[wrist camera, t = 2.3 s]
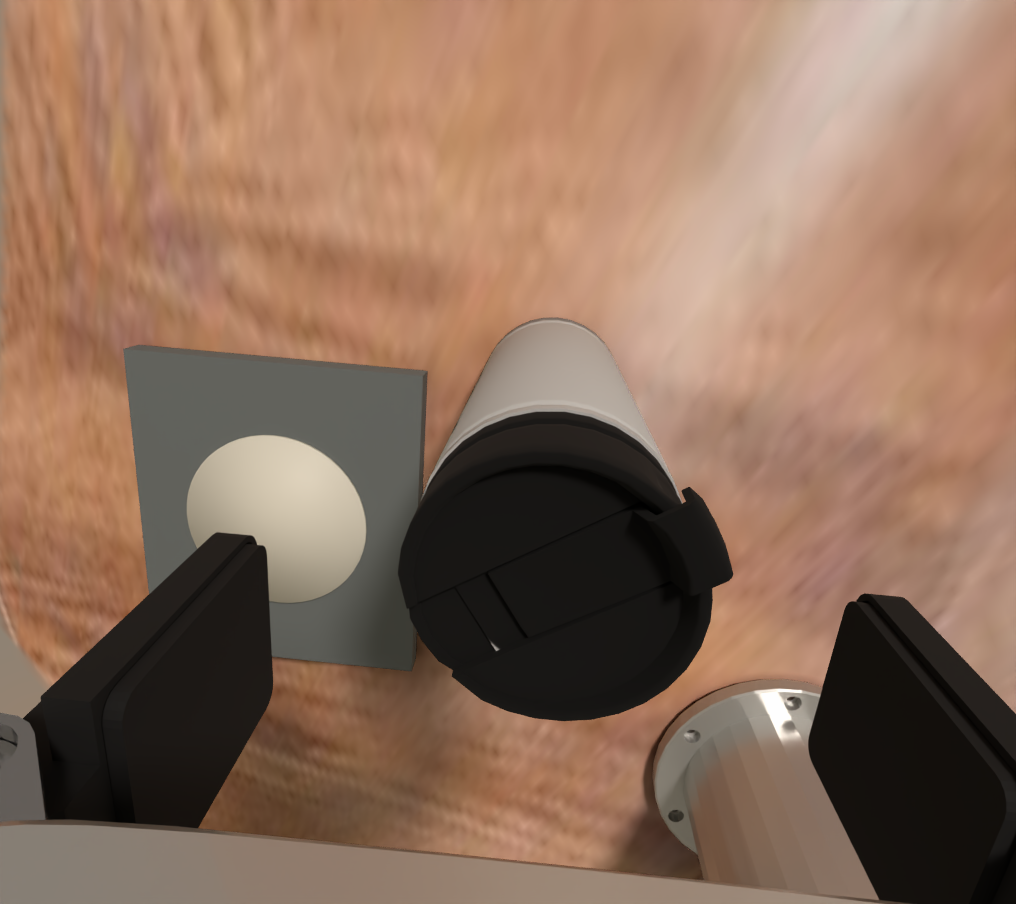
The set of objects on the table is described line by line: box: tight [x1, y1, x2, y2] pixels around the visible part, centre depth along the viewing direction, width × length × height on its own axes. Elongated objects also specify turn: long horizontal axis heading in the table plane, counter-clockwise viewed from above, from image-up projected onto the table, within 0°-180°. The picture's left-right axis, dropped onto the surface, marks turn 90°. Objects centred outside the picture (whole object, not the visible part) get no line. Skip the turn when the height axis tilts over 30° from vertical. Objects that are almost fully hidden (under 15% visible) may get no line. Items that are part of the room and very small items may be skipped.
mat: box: [123, 345, 427, 671], centre depth 34 cm, size 16×14×1 cm
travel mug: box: [398, 318, 733, 721], centre depth 22 cm, size 6×7×20 cm
